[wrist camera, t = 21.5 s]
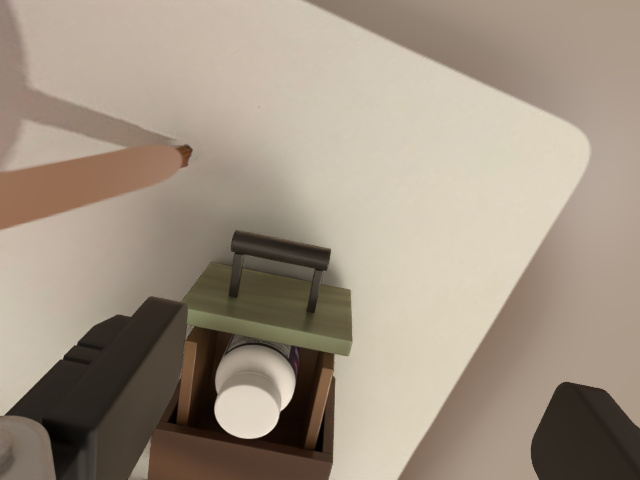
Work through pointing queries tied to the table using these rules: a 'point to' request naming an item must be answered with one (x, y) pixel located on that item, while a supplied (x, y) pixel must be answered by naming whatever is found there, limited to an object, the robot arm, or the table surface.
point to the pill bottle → (254, 385)
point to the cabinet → (235, 452)
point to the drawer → (266, 332)
